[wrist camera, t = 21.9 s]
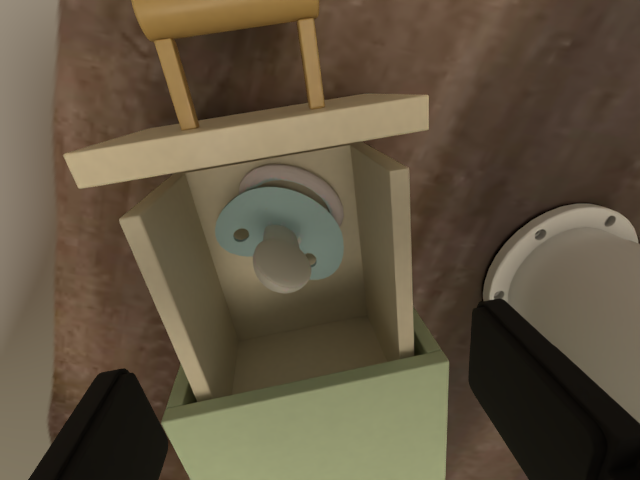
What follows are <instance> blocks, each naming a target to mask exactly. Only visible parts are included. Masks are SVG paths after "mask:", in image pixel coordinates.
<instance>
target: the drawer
mask: <svg viewBox="0 0 640 480" xmlns="http://www.w3.org/2000/svg"><path fill="white" fill-rule="evenodd" d="M131 2H132V6H133V9H134V12H135V15H136V18H137V20H138V23H139V25H140V27H141V29H142V31H143V33H144V34H145V36H146V37H147V38H148V40H150V41H152V42H154V43H155V46H156V49H157V53H158V56H159V59H160V62H161V66H162V69H163V72H164V75H165V79H166V82H167V85H168V88H169V92H170V95H171V98H172V101H173V105H174V108H175V111H176V114H177V118H178V121H179V124H173V125H167V126H161V127H154V128H149V129H145V130H142V131H139V132H135V133H132V134H129V135H125V136H122V137H119V138H115V139H112V140H109V141H105V142H102V143H98V144H95V145H92V146H88V147H85V148H82V149H78V150H75V151H72V152H68V153H65V154H64V155H63V156H64V158H65V161H66V163H67V165H68V167H69V169H70V171H71V173H72V176H73V178H74V180H75V182H76V184H77V186H78V188H79V189H84V188H90V187H96V186H102V185H107V184H113V183H119V182H125V181H131V180H137V179H143V178H149V177H155V176H160V175H166V174H172V173H173V174H172V175H171V176H170V177H169V178H168V179H167V180H165V181H164V182H163V183H162V184H161V185H159V186H158V187H157V188H156V189H155V190H153V191H152V192H151V193H150V194H149V195H147V196H146V197H145V198H144V199H143V200H141V201H140V202H139V203H138V204H137V205H135V206H134V207H133V208H132V209H131V210H129V211H128V212H127V213H126V214H125V215H123V216H122V217H121V218H120V219H119V222H120V225H121V227H122V229H123V231H124V234H125V236H126V238H127V241H128V243H129V245H130V248H131V250H132V252H133V254H134V257H135V259H136V261H137V264H138V266H139V268H140V271H141V273H142V275H143V278H144V280H145V282H146V284H147V287H148V289H149V291H150V294H151V296H152V298H153V301H154V303H155V305H156V308H157V310H158V312H159V314H160V317H161V319H162V321H163V324H164V326H165V328H166V331H167V333H168V335H169V338H170V340H171V342H172V344H173V347H174V349H175V351H176V354H177V356H178V358H179V361H180V363H181V365H182V368H183V370H184V372H185V374H186V377H187V379H188V381H189V384H190V386H191V388H192V391H193V393H194V395H195V397H196V400H197V402H201V401H205V400H210V399H215V398H220V397H224V396H229V395H234V394H238V393H243V392H248V391H253V390H257V389H262V388H267V387H271V386H276V385H281V384H286V383H290V382H295V381H300V380H304V379H309V378H314V377H319V376H323V375H328V374H333V373H337V372H342V371H347V370H351V369H356V368H361V367H366V366H370V365H375V364H380V363H384V362H389V361H394V360H399V359H403V358H408V357H413V356H414V327H413V290H412V253H411V216H410V179H409V168H408V167H406V166H404V165H403V164H401V163H399V162H397V161H395V160H394V159H392V158H390V157H388V156H386V155H385V154H383V153H381V152H379V151H377V150H376V149H374V148H372V147H370V146H368V145H367V144H365V143H363V142H361V141H367V140H373V139H379V138H385V137H390V136H396V135H402V134H408V133H414V132H420V131H426V130H428V129H429V96H428V95H419V94H368V93H366V94H360V95H354V96H347V97H341V98H335V99H329V100H324V93H323V85H322V78H321V70H320V62H319V54H318V46H317V38H316V30H315V22H314V19H316V18H317V17H318V14H319V0H131ZM295 21H298V22H297V30H298V37H299V44H300V51H301V57H302V64H303V71H304V78H305V85H306V92H307V99H308V103H304V104H298V105H291V106H285V107H279V108H273V109H266V110H260V111H254V112H248V113H242V114H235V115H229V116H223V117H217V118H210V119H204V120H198V119H197V115H196V112H195V108H194V105H193V101H192V98H191V94H190V91H189V87H188V84H187V80H186V77H185V73H184V70H183V66H182V63H181V59H180V55H179V52H178V48H177V45H176V42H175V40H173V39H178V38H185V37H192V36H199V35H206V34H213V33H219V32H226V31H233V30H240V29H247V28H254V27H261V26H268V25H275V24H281V23H288V22H295ZM273 164H282V165H289V166H295V167H298V168H300V169H303V170H306V171H309V172H311V173H312V174H314V175H316V176H318V177H319V178H321V179H322V180H324V181H325V182H326V183H327V184H328V185H329V186H331V187H332V189H333V190H334V191H335V192H336V194H337V195H338V196H339V198H340V201H341V203H342V206H343V213H344V217H343V220H342V224H341V226H340V227H339V228H340V230H341V232H342V236H343V245H344V252H343V258H342V262H341V264H340V265H339V268H338V269H337V270H336V271H335V272H334V273H333V274H332V275H330V276H329V277H326V278H324V279H319V280H309V281H308V282H307V284H306V285H305V286H303V287H302V288H301V289H299V290H297V291H295V292H292V293H278V292H274V291H272V290H270V289H268V288H267V287H265V286H264V285H263V284H262V283H261V282H260V281H259V279H258V278H257V276H256V274H255V271H254V268H253V256H251V257H246V256H239V255H235V254H232V253H229V252H228V251H226V250H225V249H223V248H222V247H221V246H220V244H219V243H218V241H217V239H216V236H215V226H216V222H217V219H218V217H219V215H220V213H221V212H222V210H223V208H224V207H225V206H226V205H227V204H228V203H229V202H230V201H231V200H232V199H234V198H235V197H236V196H237V195H239V187H240V182H241V181H242V179H243V178H244V176H245V175H246V174H247V173H249V172H250V171H252V170H253V169H254V168H258V167H261V166H264V165H273ZM267 186H275V187H282V188H287V189H291V190H294V191H297V192H300V193H302V194H304V195H306V196H308V197H310V198H312V199H313V200H315V201H316V202H318V203H319V204H320V205H321V206H323V207H324V208H325V209H326V210H327V211H328V207H327V205H326V203H325V202H324V201H323V199H322V198H321V197H320V196H319V195H317V194H316V193H315V192H314V191H312V190H311V189H309V188H307V187H305V186H303V185H300V184H298V183H295V182H290V181H284V180H273V181H269V182H265V183H263V184H261V185H260V186H258V187H267ZM258 187H257V188H258ZM248 235H249V232H248V230H246V229H244V228H241V229H238V230H236V231H235V232H234V237H235V238H236V239H238V240H243V239H245V238H247V237H248ZM305 255H306V257H307V258H308V260H309V262H310V265H313V264H314V263H315V262H316V257H315V256H314V255H313V254H311V253H306V254H305Z"/></svg>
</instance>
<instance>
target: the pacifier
mask: <svg viewBox="0 0 640 480" xmlns="http://www.w3.org/2000/svg"><path fill="white" fill-rule="evenodd" d="M273 180H284V181H290V182H295V183H298V184H300V185H303V186H305V187H307V188H309V189H311V190H312V191H314V192H315V193H316V194H317V195H319V196H320V197H321V198H322V199H323V201H324V202H325V203H326V205H327V207H328V211H327V210H326V209H325V208H324V207H323V206H321V205H320V204H319V203H318V202H316V201H315V200H313V199H312V198H310V197H308V196H306V195H304V194H302V193H300V192H297V191H294V190H291V189H287V188H282V187H275V186H267V187H258V186H260V185H261V184H263V183H265V182H269V181H273ZM257 187H258V188H257ZM343 217H344V213H343V206H342V203H341V201H340V198H339V196H338V195H337V194H336V192H335V191H334V190H333V189H332V187H331V186H329V185H328V184H327V183H326V182H325V181H324V180H322V179H321V178H319V177H318V176H316V175H314V174H312V173H311V172H309V171H306V170H303V169H300V168H298V167H295V166H289V165H282V164H273V165H264V166H261V167H258V168H254V169H253V170H252V171H250V172H249V173H247V174H246V175H245V176H244V178H243V179H242V181H241V182H240V187H239V195H237V196H236V197H235V198H234V199H232V200H231V201H230V202H229V203H228V204H227V205H226V206H225V207H224V208H223V210H222V212H221V213H220V215H219V217H218V219H217V222H216V226H215V236H216V239H217V241H218V243H219V244H220V246H221V247H222V248H223V249H225V250H226V251H228V252H229V253H232V254H235V255H239V256H246V257H251V256H253V268H254V271H255V274H256V276H257V278H258V279H259V281H260V282H261V283H262V284H263V285H264V286H265V287H267V288H268V289H270V290H272V291H274V292H278V293H292V292H295V291H297V290H299V289H301V288H302V287H303V286H305V285H306V284H307V282H308V281H309V280H319V279H324V278H326V277H329V276H330V275H332V274H333V273H334V272H335V271H336V270H337V269H338V268H339V265H340V264H341V262H342V258H343V252H344V245H343V236H342V232H341V230H340V228H339V227H340V226H341V224H342V220H343ZM241 228H244V229H246V230H248V232H249V235H248V237H247V238H245V239H243V240H238V239H236V238H235V237H234V232H235V231H236V230H238V229H241ZM306 253H311V254H313V255H314V256H315V257H316V262H315V263H314V264H313V265H310V262H309V260H308V258H307V257H306V255H305V254H306Z"/></svg>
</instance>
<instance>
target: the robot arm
mask: <svg viewBox="0 0 640 480" xmlns="http://www.w3.org/2000/svg"><path fill="white" fill-rule="evenodd" d="M469 384H470V387H471V390H472V391H473V393H474V395H475V396H476V398H477V399H478V401H479V403H480V404H481V406H482V407H483V409H484V410H485V412H486V413H487V415H488V417H489V418H490V420H491V421H492V423H493V424H494V426H495V427H496V429H497V431H498V432H499V434H500V435H501V437H502V438H503V440H504V441H505V443H506V445H507V446H508V448H509V449H510V451H511V452H512V454H513V455H514V457H515V459H516V460H517V462H518V463H519V465H520V466H521V468H522V469H523V471H524V473H525V474H526V476H527V477H528V479H529V480H640V244H638V237H637V234H636V231H635V229H634V227H633V226H632V224H631V223H630V222H629V220H628V219H627V218H625V217H624V216H623V215H621V214H620V213H619V212H616V211H614V210H611V209H608V208H606V207H603V206H599V205H595V204H572V205H566V206H561V207H559V208H556V209H553V210H551V211H548V212H546V213H544V214H542V215H540V216H538V217H537V218H535V219H533V220H531V221H530V222H529V223H527V224H526V225H525V226H523V227H522V228H521V229H519V230H518V231H517V232H516V233H515V234H514V235H513V236H512V237H511V238H510V239H509V240H508V241H507V242H506V243H505V244H504V246H503V247H502V248H501V250H500V251H499V252H498V253H497V255H496V256H495V258H494V260H493V262H492V264H491V266H490V268H489V270H488V273H487V276H486V279H485V282H484V289H483V302H479V304H478V306H477V308H475V309H473V312H472V327H471V344H470V361H469ZM167 450H168V439H167V436H166V434H165V432H164V430H163V429H162V427H161V425H160V423H159V421H158V419H157V417H156V415H155V413H154V411H153V409H152V407H151V405H150V403H149V401H148V399H147V397H146V395H145V393H144V391H143V389H142V387H141V385H140V383H139V381H138V380H137V378H136V376H135V374H133V373H129V372H128V370H126V369H118V370H113V371H107V372H102V373H100V374H98V375H97V377H96V378H95V379H94V381H93V382H92V384H91V385H90V387H89V388H88V390H87V391H86V393H85V394H84V396H83V398H82V399H81V401H80V402H79V404H78V405H77V407H76V408H75V410H74V411H73V413H72V414H71V416H70V417H69V419H68V420H67V422H66V423H65V425H64V426H63V428H62V429H61V431H60V432H59V434H58V435H57V437H56V438H55V440H54V442H53V443H52V445H51V446H50V448H49V449H48V451H47V452H46V454H45V455H44V457H43V458H42V460H41V461H40V463H39V464H38V466H37V468H36V469H35V470H34V472H33V473H32V475H31V476H30V478H29V479H28V480H158V479H159V476H160V473H161V470H162V467H163V464H164V460H165V457H166V454H167Z"/></svg>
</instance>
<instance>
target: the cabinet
mask: <svg viewBox="0 0 640 480" xmlns="http://www.w3.org/2000/svg"><path fill="white" fill-rule="evenodd" d="M413 327H414V356H413V357H408V358H403V359H399V360H394V361H389V362H384V363H380V364H375V365H370V366H366V367H361V368H356V369H351V370H347V371H342V372H337V373H333V374H328V375H323V376H319V377H314V378H309V379H304V380H300V381H295V382H290V383H286V384H281V385H276V386H271V387H267V388H262V389H257V390H253V391H248V392H243V393H238V394H234V395H229V396H224V397H220V398H215V399H210V400H205V401H201V402H197V400H196V397H195V395H194V393H193V391H192V388H191V386H190V384H189V381H188V379H187V377H186V374H185V372H184V370H183V368H182V365H180V368H179V371H178V374H177V377H176V380H175V383H174V386H173V389H172V392H171V395H170V398H169V401H168V404H167V407H166V410H165V413H164V416H163V419H162V422H161V424H162V426H163V428H164V430H165V432H166V434H167V436H168V438H169V439H170V441H171V443H172V445H173V447H174V449H175V451H176V453H177V455H178V457H179V459H180V460H181V462H182V464H183V466H184V468H185V470H186V472H187V474H188V476H189V478H190V480H445V472H446V442H447V411H448V381H449V360H448V359H447V357H446V356H445V354H444V353H443V351H441V348H440V347H439V345H438V344H437V342H436V340H435V339H434V337H433V336H432V334H431V333H430V331H429V330H428V328H427V327H426V325H425V324H424V322H423V321H422V319H421V318H420V316H419V315H418V313H417V312H416V310H415V309H414V307H413Z"/></svg>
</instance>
